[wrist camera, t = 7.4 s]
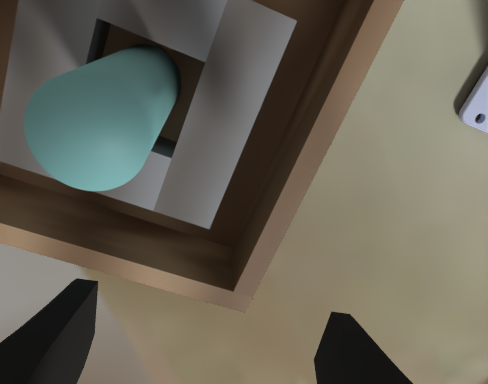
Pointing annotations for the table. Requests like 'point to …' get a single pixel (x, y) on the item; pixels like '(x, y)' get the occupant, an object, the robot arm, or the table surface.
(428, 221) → the table surface
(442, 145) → the table surface
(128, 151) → the peg
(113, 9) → the box
